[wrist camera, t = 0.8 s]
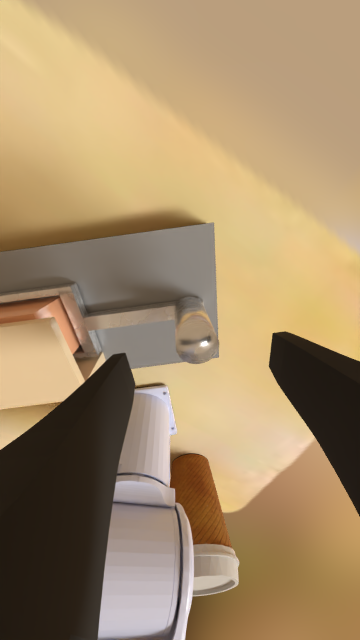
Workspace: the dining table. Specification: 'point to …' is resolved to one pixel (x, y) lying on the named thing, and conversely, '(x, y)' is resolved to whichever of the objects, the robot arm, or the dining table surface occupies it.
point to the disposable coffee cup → (204, 525)
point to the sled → (133, 321)
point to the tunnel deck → (101, 305)
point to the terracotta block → (41, 316)
